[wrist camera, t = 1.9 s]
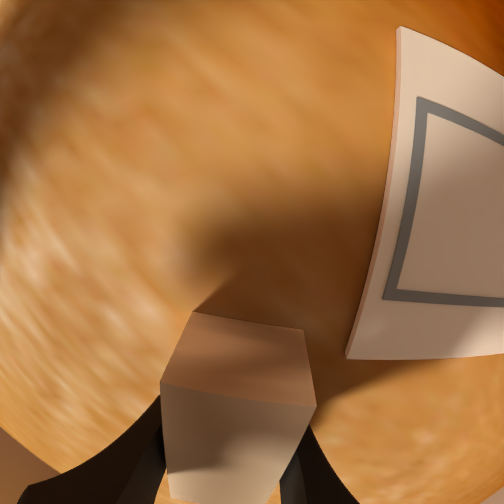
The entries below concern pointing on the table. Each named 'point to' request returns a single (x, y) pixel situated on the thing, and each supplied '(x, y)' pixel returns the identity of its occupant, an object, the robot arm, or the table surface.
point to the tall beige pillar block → (233, 408)
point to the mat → (438, 213)
